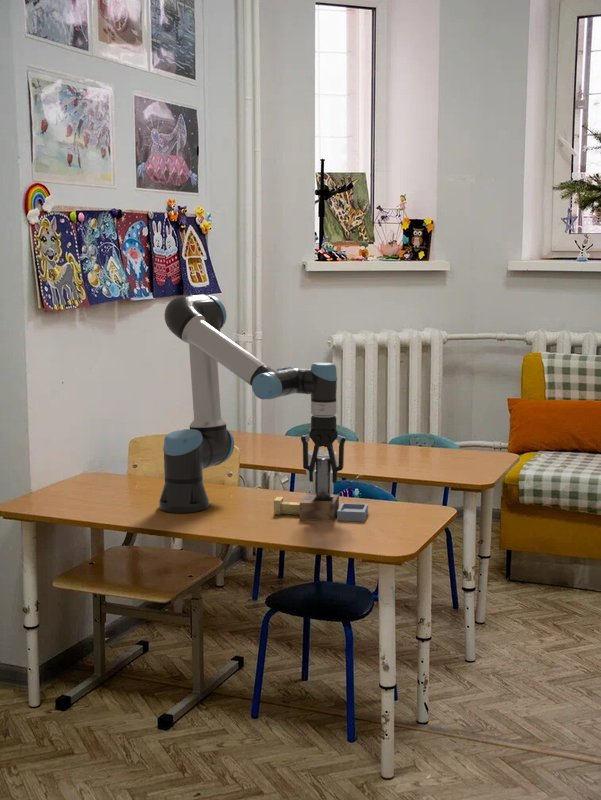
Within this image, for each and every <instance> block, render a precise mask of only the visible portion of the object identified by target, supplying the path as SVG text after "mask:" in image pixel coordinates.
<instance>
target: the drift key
mask: <svg viewBox="0 0 601 800" xmlns="http://www.w3.org/2000/svg"><path fill="white" fill-rule="evenodd" d="M273 515H299V516H300V502H293V501H284V497H283V496H276V497H275V498H274V500H273Z"/></svg>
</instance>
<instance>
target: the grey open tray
mask: <svg viewBox="0 0 601 800" xmlns="http://www.w3.org/2000/svg"><path fill="white" fill-rule="evenodd" d="M367 513H368V514H369V504H368V503H351V502H342V503H341V504H339V509H338V511H337V515H336V516H337V518H336V520H337V521H348V522H349V521H351V522H365V520H366V519H367V516H368V514H367ZM365 518H366V519H365Z"/></svg>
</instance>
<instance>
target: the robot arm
mask: <svg viewBox="0 0 601 800" xmlns="http://www.w3.org/2000/svg"><path fill="white" fill-rule="evenodd" d="M226 321H227V309H226V307H225V305H224V303H223V302H222V301H221V300H220V299H219V298H218V297H216V296H214V295H210V294H202V293H201V294H194V295H193V294H192V295H180V296H176V297H174V298H173V299H171V300H170V301H169V302H168V304H167V305H166V306H165V311H164V322H165V324H166V326H167V328H168V329H169V331H170V332H171V333H172V334H174V336H176V337H177V338H178V339H179V340H181V341H182V342H183V343H186V344H188V349H189V350H188V351H189V362H190V363H189V364H190V379H191V393H192V406H193V407H192V410H193V412H192V413H193V421H192V422H191V423H190V424H189V428H187V429H186V428H185V429H181V430H180V429H178V430H174V431H171V432H170V433H168V434H166V436H165V437H164V440H163V449H162V450H163V465H164V467H163V471H164V473H163V474H164V485H163V488H162V491H161V494H160V497H159V502H158V503H159V504H158V506H159V509H160V510H161V511H163V512H167V513H173V514H189V513H197V512H202V511H205V510H208V509H209V506H210V505H209V504H210V503H209V501H210V500H209V497H208V494H207V491H206V488H205V485H204V482H203V481H204V479H203V476H204V475H203V473H204V472H203V470H205V469H207V468H211V467H213V466H215V467H216V466H218V465H221V464H222V463H225V462H227V461H228V460H229V459H230V458H231V456H232V455H233V453H234V449H235V438H234V435H233V434H232V433H231V432H230V430H229V429H228V428H227V422H226V421H225V420H224V419H223V418H222V414H221V413H222V411H221V396H220V382H219V381H220V380H219V379H220V378H219V368H218V367H219V364H220V365H221V366H223V367H224V368H226V369H227V370H229V371H230V372H232V373H233V374H234V375H236V376H237V377H239V378H240V379H241V380H242V381H244V382H245V383H247V384H248V385H250V386H251V389H252V392H253V393H254V395H255V397H257V398H258V399H261V400H273V399H277V398H280V397H284V396H285V397H286V396H289V395H294V394H299V395H301V394H302V395H304V394H305V395H310V413H311V415H312V416H310V432H309V433H308V434H305V435H301V437H300V440H301V444H302V468H303V469H304V470H306V469H307V470H309V477H308V480H309V483H310V482H313V493H316V470H314V468H315V463H316V458H317V455H318V451H319V450H320V447H324V448H326V450H328V453H329V458H330V462H331V467H332V471H331V472H330V494H334V487H335V486H334V483H335V484H336V483H337V482H338V472H340V471H342V470H343V469H344V459H345V458H344V456H345V443H346V441H347V436H344V435H343V436H342V435H339V433H338V431H337V416H336V415H337V412H338V411H337V408H338V407H337V405H338V403H337V401H338V400H337V386H338V385H337V382H338V376H337V375H338V373H337V366H336V364H334V363H333V362H314V363H312V364H311V366H310V368H299V367H292V366H287V367H285V366H284V367H278V368H277V369H276V370H274V369H273V368H271V367H270V366H269V365H267V364H265V363H264V362H263V361H262V360H260V359H258V357H256V356H254V355H253V354H252V353H250V352H249V351H247V350H246V349H244V348H243V347H241V345H239V344H237V343H236V342H234V341H233V340H232V339H230V337H227V336H226V335H225V334H223V332H221V329H222V328H223V327H224V325H225V324H226ZM218 363H219V364H218ZM310 440H312V442H313V444H314V445H313V450H314V451H313V450H312V451H313V455H312V459H311V463H310V465H308V451H309V441H310ZM336 440H337V443H338V444H339V445H338V466H337V464H336V460H335V455H334V445H333V444H334V442H335V441H336Z"/></svg>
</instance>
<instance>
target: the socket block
mask: <svg viewBox="0 0 601 800" xmlns="http://www.w3.org/2000/svg"><path fill="white" fill-rule="evenodd" d="M299 503H300V515H299V520H304V521H305V520H307V521H309V520H310V521H328V522H329V521H330V522H331V521H332V522H334V521H335V519H336V516H337V511H338V509H339V507H340V494H334V493H333V494H331V495H330V501H316V494H310V492H308V493H305V495H304V496H303V497H302V499H301V500H300V501H299Z"/></svg>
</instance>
